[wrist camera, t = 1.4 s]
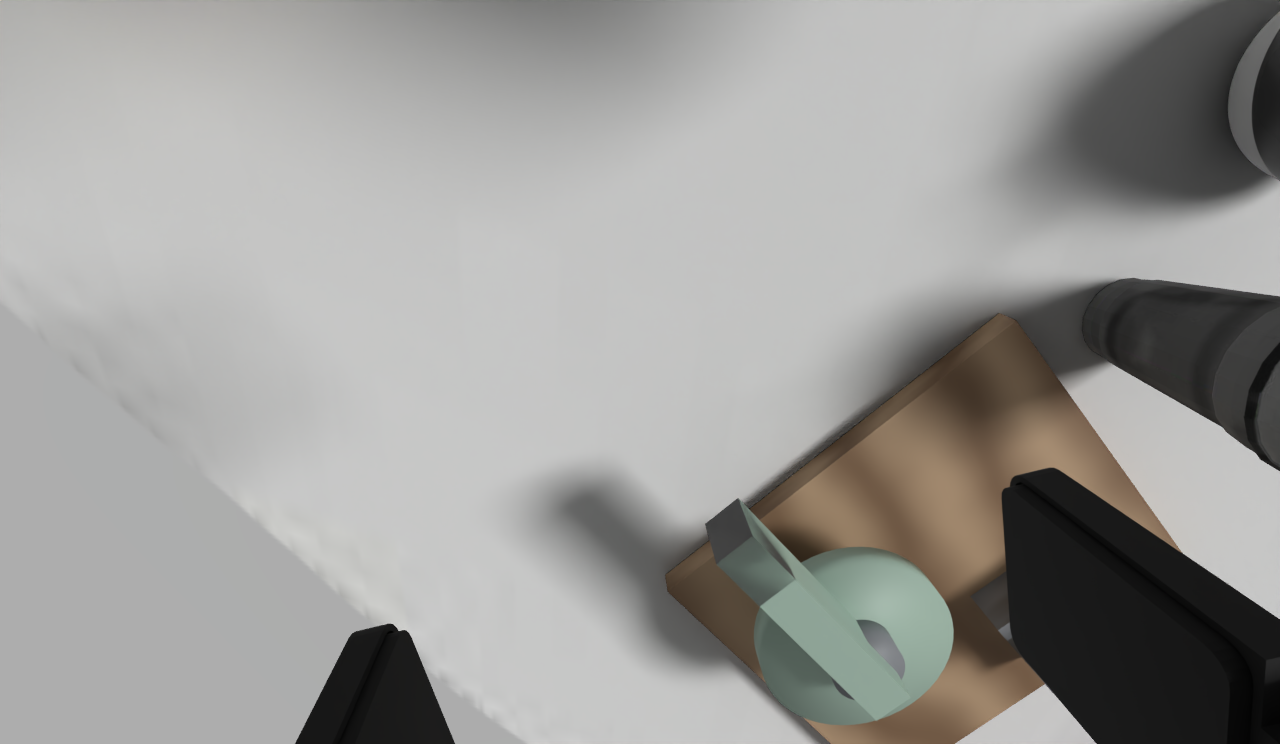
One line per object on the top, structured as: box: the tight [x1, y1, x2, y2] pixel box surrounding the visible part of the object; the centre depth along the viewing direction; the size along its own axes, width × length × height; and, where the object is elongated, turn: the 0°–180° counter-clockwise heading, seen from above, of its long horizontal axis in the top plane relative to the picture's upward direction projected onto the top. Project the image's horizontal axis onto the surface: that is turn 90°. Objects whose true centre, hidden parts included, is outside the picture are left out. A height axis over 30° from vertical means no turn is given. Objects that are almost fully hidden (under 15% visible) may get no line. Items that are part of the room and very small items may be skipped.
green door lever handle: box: [705, 498, 954, 725], centre depth 33 cm, size 16×10×5 cm, turn 42°
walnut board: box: [665, 313, 1182, 744], centre depth 39 cm, size 24×22×5 cm
